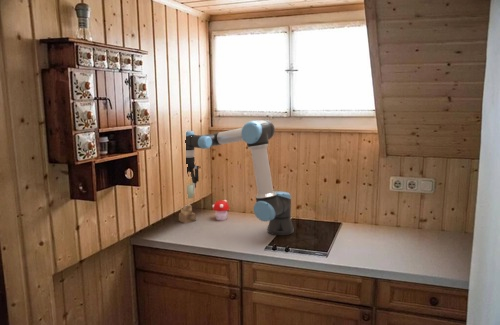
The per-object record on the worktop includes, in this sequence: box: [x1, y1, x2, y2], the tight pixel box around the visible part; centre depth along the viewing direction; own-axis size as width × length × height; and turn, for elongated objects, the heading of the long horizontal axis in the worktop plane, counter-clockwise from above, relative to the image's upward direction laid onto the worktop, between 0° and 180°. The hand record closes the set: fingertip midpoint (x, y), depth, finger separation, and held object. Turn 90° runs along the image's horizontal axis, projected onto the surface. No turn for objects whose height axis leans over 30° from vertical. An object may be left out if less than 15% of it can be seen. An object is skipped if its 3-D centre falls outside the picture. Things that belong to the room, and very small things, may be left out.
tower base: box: [178, 211, 196, 224], centre depth 268 cm, size 8×8×5 cm
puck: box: [187, 183, 194, 200], centre depth 263 cm, size 5×5×8 cm
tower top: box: [180, 204, 193, 215], centre depth 267 cm, size 5×5×5 cm
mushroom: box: [211, 199, 230, 221], centre depth 271 cm, size 11×11×12 cm
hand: (189, 194), depth 263 cm, fingers closed on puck, 5 cm apart
